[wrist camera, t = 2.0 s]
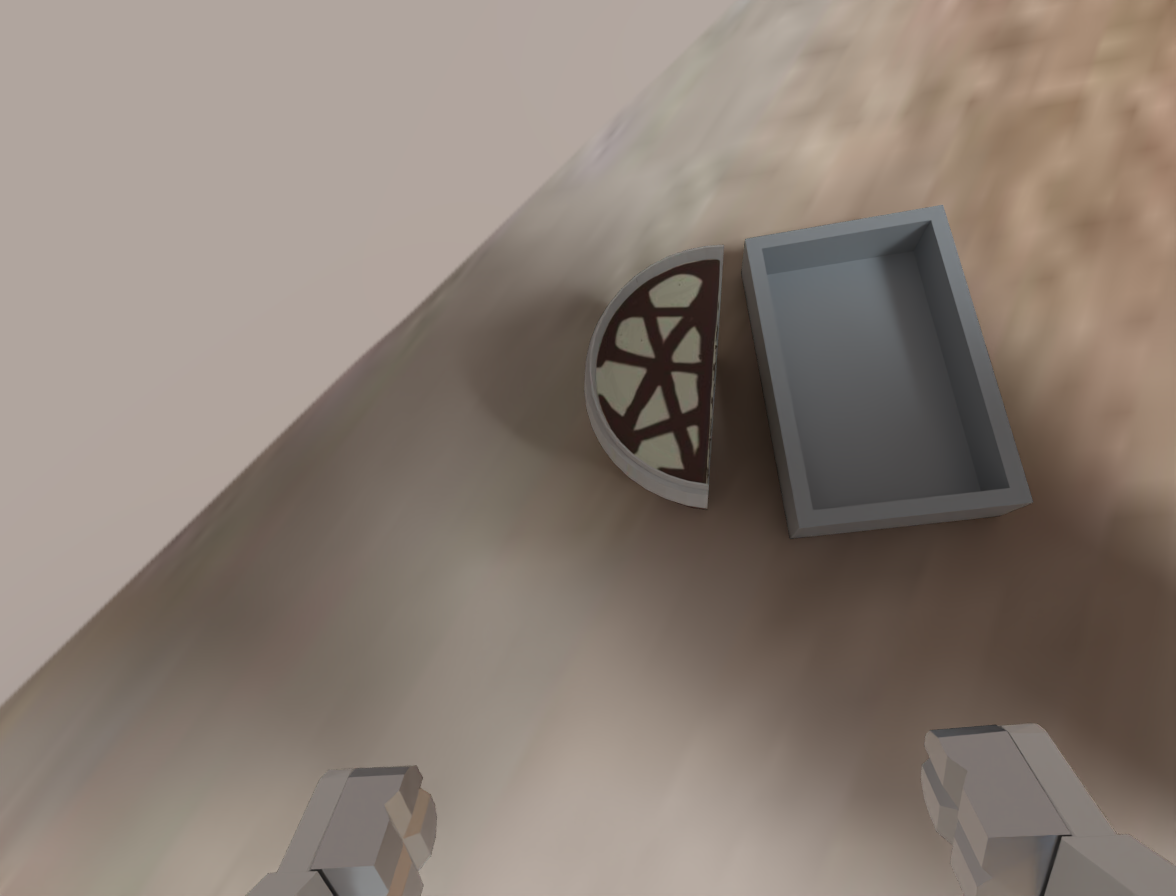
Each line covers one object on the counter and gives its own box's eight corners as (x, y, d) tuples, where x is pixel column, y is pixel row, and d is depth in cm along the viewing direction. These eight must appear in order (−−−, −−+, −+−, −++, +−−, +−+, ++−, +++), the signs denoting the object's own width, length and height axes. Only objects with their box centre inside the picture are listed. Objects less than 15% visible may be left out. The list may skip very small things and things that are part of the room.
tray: (921, 242, 38) (943, 204, 34) (999, 516, 33) (1033, 502, 29) (741, 272, 39) (745, 239, 36) (789, 538, 34) (799, 528, 31)
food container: (618, 331, 39) (592, 234, 30) (718, 333, 38) (724, 234, 29) (596, 526, 36) (559, 487, 27) (705, 536, 35) (707, 499, 25)
